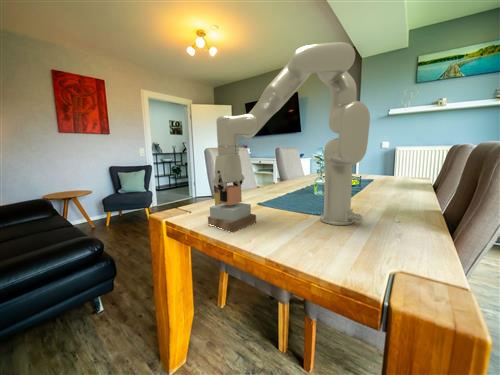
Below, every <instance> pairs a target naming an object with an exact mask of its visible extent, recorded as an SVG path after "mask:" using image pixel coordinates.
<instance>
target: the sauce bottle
mask: <svg viewBox="0 0 500 375" xmlns="http://www.w3.org/2000/svg"><path fill="white" fill-rule="evenodd" d="M222 186H223V185H222ZM213 195H214V206H215V205H219V204H222V203H219V190H218V189H217V187H216V186H215V185H214V184H213Z"/></svg>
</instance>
